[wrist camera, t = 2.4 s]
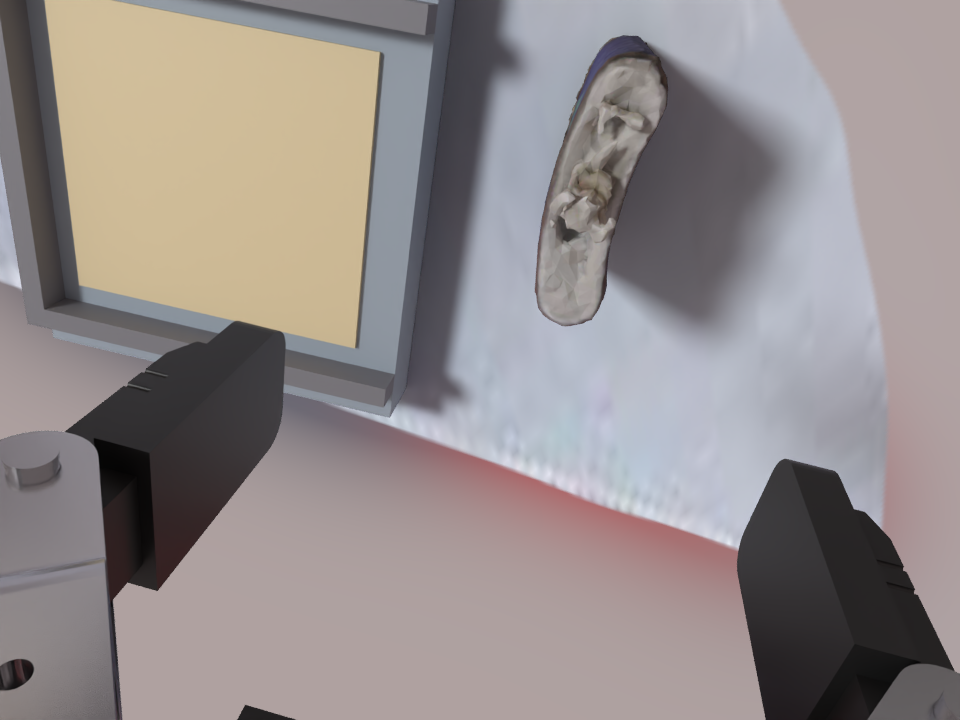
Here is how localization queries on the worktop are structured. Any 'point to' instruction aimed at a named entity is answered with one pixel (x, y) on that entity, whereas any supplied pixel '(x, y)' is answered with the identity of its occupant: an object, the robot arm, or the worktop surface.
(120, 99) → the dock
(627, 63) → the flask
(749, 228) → the worktop surface
